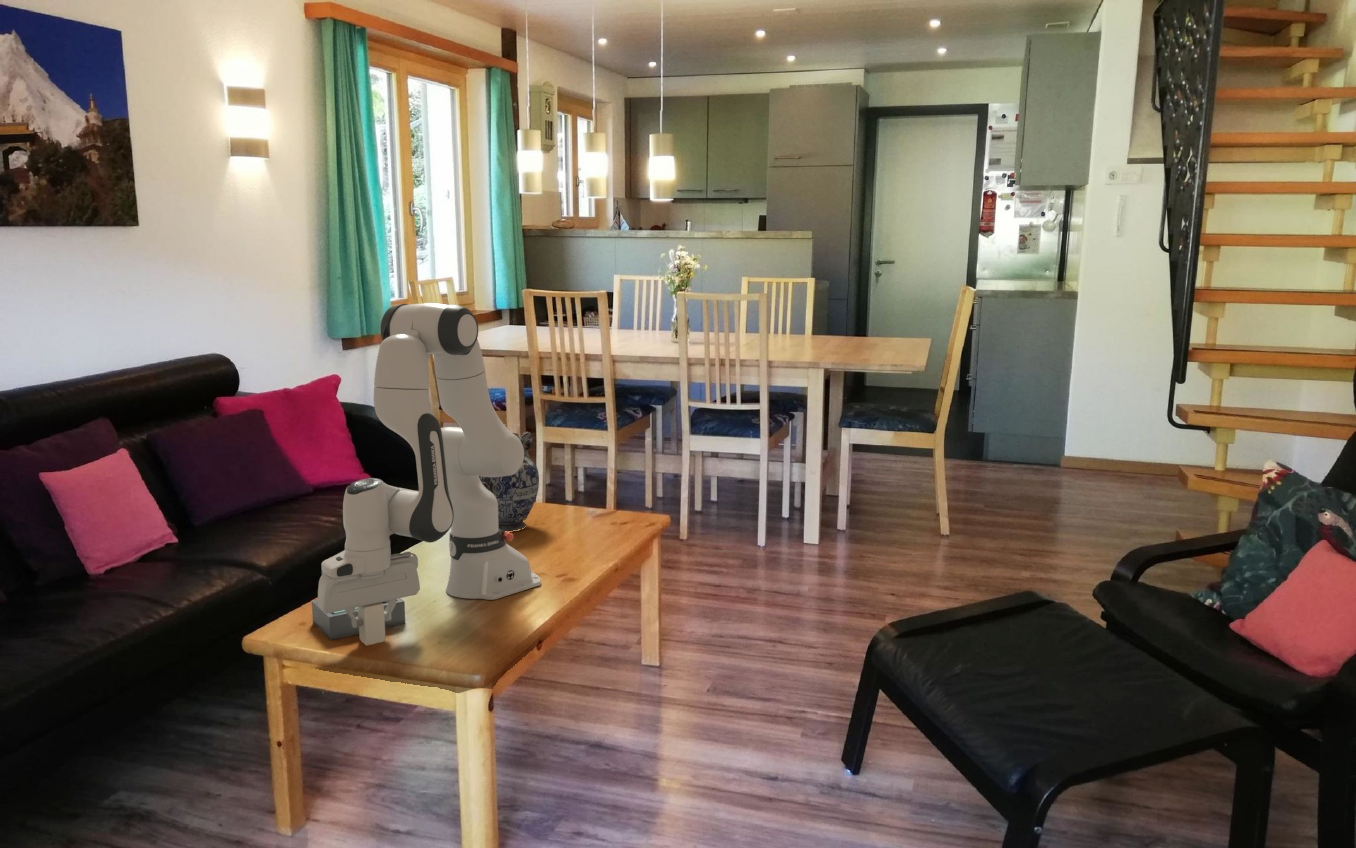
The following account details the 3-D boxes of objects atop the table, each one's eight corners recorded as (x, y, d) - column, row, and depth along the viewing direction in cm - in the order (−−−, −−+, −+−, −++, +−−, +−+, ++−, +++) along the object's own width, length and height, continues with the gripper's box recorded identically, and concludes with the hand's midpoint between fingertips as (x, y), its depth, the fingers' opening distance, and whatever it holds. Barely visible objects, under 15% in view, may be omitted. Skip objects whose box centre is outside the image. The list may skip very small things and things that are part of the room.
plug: (378, 635, 200) (376, 594, 199) (385, 641, 197) (383, 599, 196) (359, 639, 198) (357, 598, 197) (366, 645, 195) (364, 603, 193)
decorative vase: (506, 541, 268) (503, 442, 263) (459, 532, 278) (455, 437, 273) (556, 524, 285) (554, 432, 281) (510, 516, 295) (507, 427, 291)
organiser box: (385, 607, 216) (384, 586, 216) (405, 623, 207) (404, 601, 206) (312, 623, 207) (311, 600, 206) (330, 640, 197) (329, 617, 197)
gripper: (411, 546, 203) (414, 608, 206) (313, 564, 191) (317, 629, 194) (423, 553, 198) (425, 617, 201) (323, 572, 186) (327, 639, 189)
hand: (371, 623), depth 197 cm, fingers open, 5 cm apart
